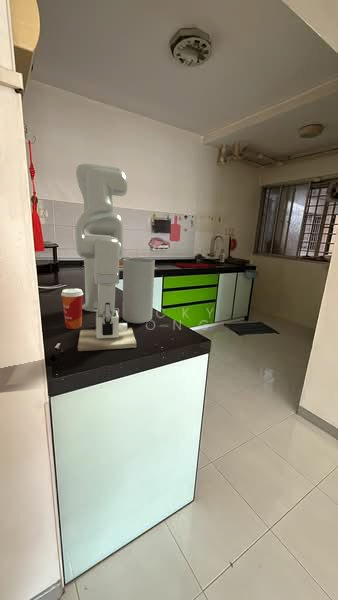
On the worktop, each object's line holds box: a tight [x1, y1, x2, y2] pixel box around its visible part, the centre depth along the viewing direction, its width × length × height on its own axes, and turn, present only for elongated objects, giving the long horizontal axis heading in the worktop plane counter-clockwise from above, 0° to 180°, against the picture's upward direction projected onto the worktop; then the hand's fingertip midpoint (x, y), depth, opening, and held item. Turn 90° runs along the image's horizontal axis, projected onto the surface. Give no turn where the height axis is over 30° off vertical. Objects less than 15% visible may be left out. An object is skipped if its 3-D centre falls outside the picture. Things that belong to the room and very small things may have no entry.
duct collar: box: [95, 309, 128, 338], centre depth 85 cm, size 7×10×7 cm
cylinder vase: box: [122, 257, 156, 324], centre depth 105 cm, size 12×12×25 cm
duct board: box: [77, 327, 137, 352], centre depth 86 cm, size 13×18×2 cm
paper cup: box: [60, 287, 84, 330], centre depth 94 cm, size 8×8×14 cm
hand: (107, 329), depth 85 cm, fingers closed on duct collar, 7 cm apart
